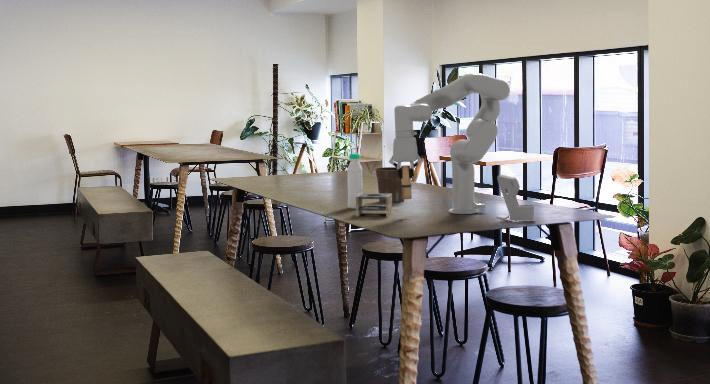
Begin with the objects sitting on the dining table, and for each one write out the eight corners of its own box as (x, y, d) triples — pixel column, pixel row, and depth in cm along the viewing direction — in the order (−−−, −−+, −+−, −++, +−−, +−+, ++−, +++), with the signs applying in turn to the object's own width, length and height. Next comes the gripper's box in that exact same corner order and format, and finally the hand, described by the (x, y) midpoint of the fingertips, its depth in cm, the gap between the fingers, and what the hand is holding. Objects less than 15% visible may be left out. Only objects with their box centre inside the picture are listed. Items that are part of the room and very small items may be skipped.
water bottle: (354, 206, 391) (353, 153, 388) (366, 207, 386) (365, 153, 384) (344, 208, 386) (343, 154, 383) (356, 209, 381) (355, 154, 378)
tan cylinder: (412, 197, 355) (411, 165, 354) (411, 199, 351) (410, 166, 350) (402, 198, 356) (401, 165, 354) (401, 199, 352) (400, 166, 350)
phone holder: (536, 221, 334) (536, 176, 332) (513, 223, 331) (513, 177, 329) (517, 216, 350) (517, 173, 348) (495, 217, 348) (495, 174, 346)
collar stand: (392, 212, 367) (391, 193, 366) (388, 216, 355) (388, 196, 354) (360, 212, 369) (360, 193, 369) (356, 216, 358) (355, 196, 357)
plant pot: (415, 201, 405) (415, 168, 403) (388, 204, 396) (388, 170, 394) (395, 198, 418) (394, 166, 417) (368, 201, 409) (368, 168, 408)
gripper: (425, 133, 353) (426, 176, 355) (385, 135, 355) (387, 177, 358) (423, 134, 345) (425, 178, 348) (383, 136, 348) (385, 179, 350)
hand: (406, 177), depth 353 cm, fingers closed on tan cylinder, 4 cm apart
